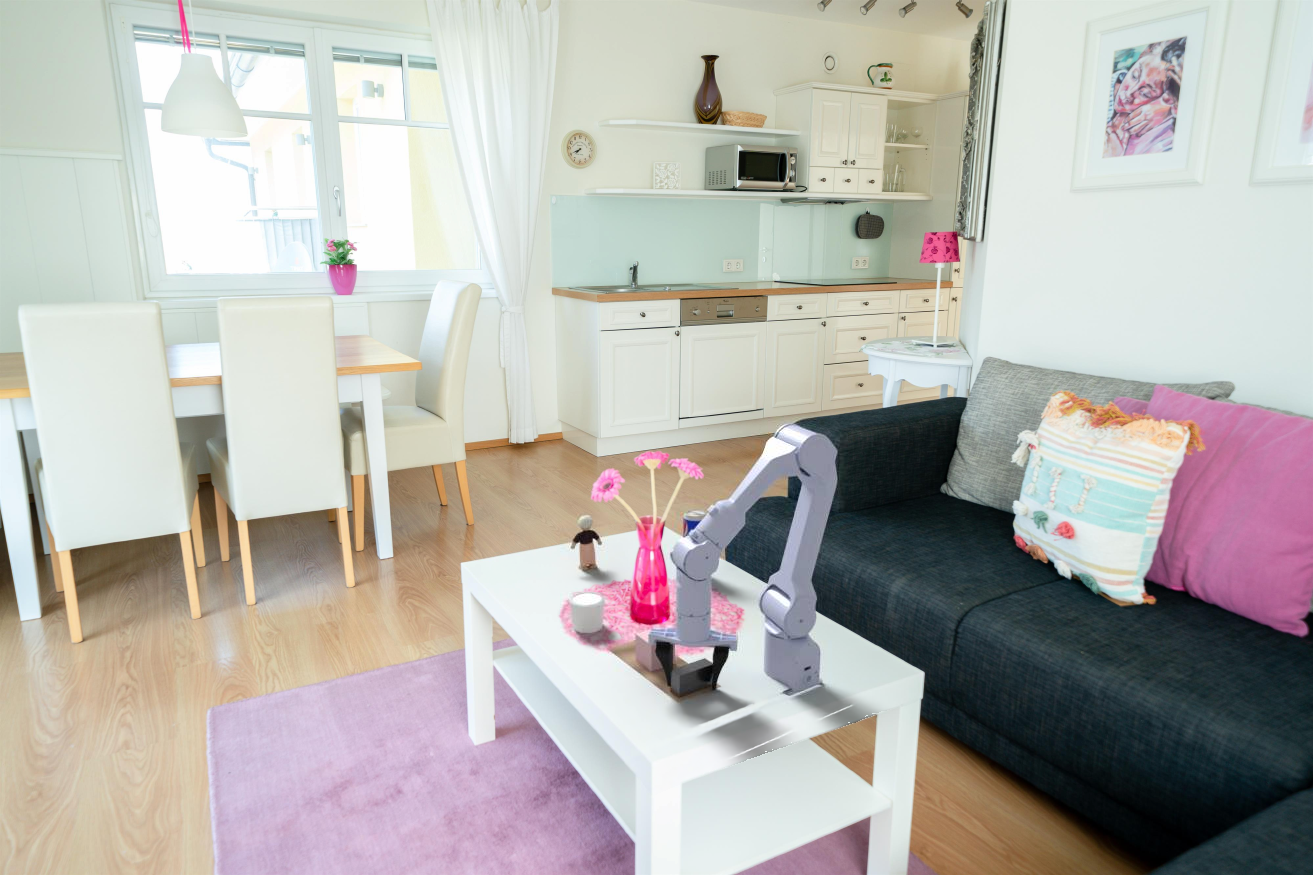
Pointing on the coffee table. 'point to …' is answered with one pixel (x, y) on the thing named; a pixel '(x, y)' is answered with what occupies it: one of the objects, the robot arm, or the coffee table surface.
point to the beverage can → (691, 520)
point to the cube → (648, 652)
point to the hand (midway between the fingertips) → (692, 685)
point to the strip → (651, 676)
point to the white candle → (587, 611)
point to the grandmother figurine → (586, 543)
